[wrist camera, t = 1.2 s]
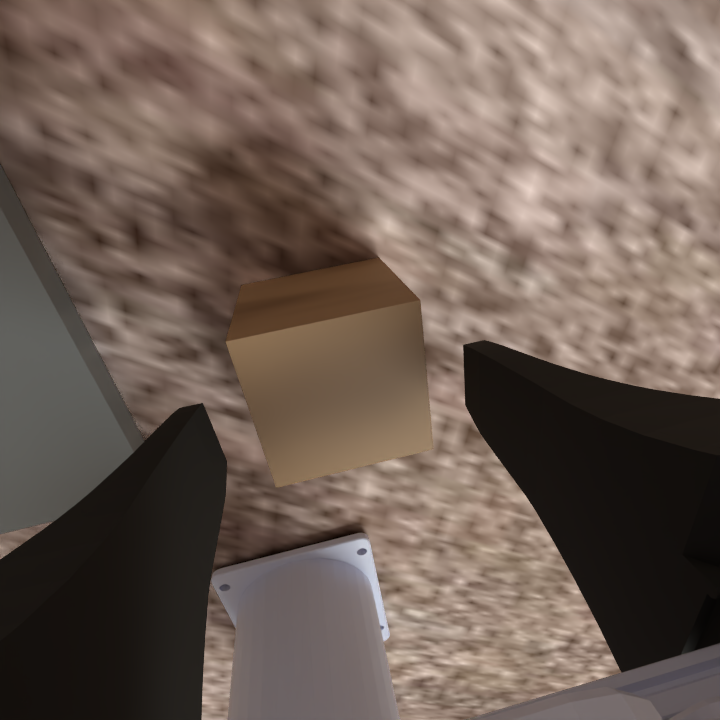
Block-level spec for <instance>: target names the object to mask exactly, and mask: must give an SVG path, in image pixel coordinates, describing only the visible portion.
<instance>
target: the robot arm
mask: <svg viewBox="0 0 720 720" xmlns="http://www.w3.org/2000/svg"><path fill="white" fill-rule="evenodd" d="M463 350H464V379H465V405H466V407H467V409H468V411H469V413H470V415H471V417H472V419H473V421H474V423H475V425H476V426H477V428H478V430H479V432H480V434H481V435H482V436H483V438H484V439H485V441H486V442H487V443H488V445H489V446H490V448H491V449H492V450H493V452H494V453H495V455H496V456H497V457H498V459H499V460H500V461H501V463H502V464H503V465H504V467H505V468H506V469H507V471H508V472H509V474H510V475H511V476H512V478H513V479H514V480H515V482H516V483H517V484H518V486H519V487H520V488H521V490H522V491H523V493H524V494H525V495H526V497H527V498H528V500H529V501H530V503H531V504H532V506H533V507H534V509H535V510H536V512H537V514H538V516H539V517H540V519H541V521H542V522H543V524H544V526H545V528H546V529H547V531H548V533H549V534H550V536H551V538H552V540H553V541H554V543H555V545H556V547H557V548H558V550H559V552H560V554H561V556H562V557H563V559H564V561H565V563H566V565H567V567H568V568H569V570H570V572H571V574H572V576H573V577H574V579H575V581H576V583H577V585H578V587H579V589H580V591H581V593H582V595H583V596H584V598H585V600H586V602H587V604H588V606H589V608H590V610H591V612H592V614H593V616H594V618H595V620H596V621H597V623H598V625H599V627H600V629H601V631H602V634H603V636H604V638H605V640H606V642H607V644H608V646H609V648H610V650H611V652H612V654H613V656H614V658H615V660H616V662H617V664H618V666H619V668H620V670H621V672H622V673H619V674H616V675H612V676H609V677H606V678H602V679H599V680H596V681H592V682H589V683H586V684H582V685H579V686H576V687H572V688H569V689H566V690H562V691H559V692H556V693H552V694H549V695H546V696H542V697H539V698H536V699H532V700H529V701H526V702H522V703H519V704H516V705H512V706H509V707H506V708H502V709H499V710H496V711H492V712H489V713H486V714H482V715H479V716H476V717H472V718H469V719H466V720H720V399H716V398H708V397H700V396H692V395H685V394H678V393H672V392H666V391H660V390H653V389H648V388H643V387H638V386H633V385H629V384H624V383H620V382H615V381H611V380H607V379H603V378H599V377H595V376H591V375H588V374H584V373H581V372H578V371H574V370H571V369H568V368H565V367H562V366H559V365H555V364H552V363H550V362H547V361H544V360H541V359H538V358H535V357H533V356H530V355H527V354H524V353H522V352H519V351H516V350H513V349H511V348H508V347H505V346H502V345H499V344H496V343H493V342H489V341H485V340H483V341H479V342H474V343H470V344H465V345H463ZM226 475H227V461H226V458H225V456H224V453H223V451H222V448H221V446H220V444H219V441H218V439H217V436H216V434H215V431H214V429H213V427H212V424H211V422H210V419H209V417H208V415H207V412H206V410H205V407H204V405H203V403H200V404H196V405H191V406H187V407H182V408H179V409H178V410H177V411H175V412H174V413H173V414H172V415H171V416H170V417H169V418H168V419H167V420H166V421H165V422H164V423H163V424H162V425H161V426H160V427H159V428H158V429H157V430H156V431H155V432H154V433H153V434H152V435H151V436H150V437H149V438H148V439H147V440H146V441H145V442H144V443H142V444H141V445H140V446H139V447H138V448H137V449H136V450H135V451H134V452H133V453H132V454H131V455H130V456H129V457H128V458H127V459H126V460H125V461H124V462H123V463H122V464H121V465H120V466H119V467H118V468H116V469H115V470H114V471H113V472H112V473H111V474H110V475H109V476H108V477H107V478H106V479H104V480H103V481H102V482H101V483H100V484H99V485H98V486H97V487H96V488H95V489H93V490H92V491H91V492H90V493H89V494H88V495H87V496H85V497H84V498H83V499H82V500H80V501H79V502H78V503H77V504H76V505H74V506H73V507H72V508H71V509H69V510H68V511H67V512H66V513H64V514H63V515H62V516H60V517H59V518H58V519H57V520H55V521H54V522H53V523H51V524H50V525H49V526H47V527H46V528H45V529H43V530H42V531H41V532H39V533H38V534H36V535H35V536H33V537H32V538H31V539H29V540H28V541H26V542H25V543H23V544H22V545H21V546H19V547H18V548H16V549H15V550H13V551H12V552H11V553H9V554H8V555H6V556H5V557H3V558H2V559H1V560H0V720H201V715H202V684H203V665H204V647H205V631H206V618H207V605H208V593H209V586H210V579H211V573H212V567H213V562H214V557H215V551H216V546H217V540H218V535H219V530H220V524H221V519H222V513H223V507H224V502H225V496H226ZM361 548H362V549H361ZM211 582H212V585H213V587H214V589H215V591H216V592H217V594H218V596H219V598H220V600H221V602H222V604H223V606H224V607H225V609H226V611H227V613H228V615H229V617H230V619H231V620H232V622H233V624H234V626H235V628H236V634H235V645H234V655H233V666H232V677H231V688H230V699H229V709H228V720H400V717H399V712H398V708H397V703H396V698H395V693H394V689H393V684H392V679H391V675H390V670H389V665H388V660H387V656H386V651H385V646H384V642H383V641H385V640H387V639H388V638H389V636H390V633H389V629H388V624H387V620H386V615H385V610H384V606H383V601H382V596H381V592H380V587H379V582H378V578H377V573H376V569H375V564H374V559H373V555H372V550H371V545H370V541H369V537H368V535H367V534H365V533H356V534H352V535H348V536H344V537H341V538H337V539H333V540H329V541H325V542H321V543H317V544H313V545H310V546H306V547H302V548H298V549H294V550H290V551H286V552H282V553H278V554H275V555H271V556H267V557H263V558H259V559H255V560H251V561H247V562H244V563H240V564H236V565H232V566H228V567H224V568H220V569H218V570H216V571H214V572H213V574H212V579H211Z"/></svg>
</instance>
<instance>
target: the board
mask: <svg viewBox="0 0 720 720" xmlns="http://www.w3.org/2000/svg"><path fill="white" fill-rule="evenodd" d="M144 442H145V441H144V439H143V437H142V435H141V433H140V432H139V430H138V428H137V426H136V424H135V422H134V420H133V418H132V416H131V414H130V412H129V410H128V409H127V407H126V405H125V403H124V401H123V399H122V397H121V395H120V393H119V391H118V389H117V387H116V385H115V384H114V382H113V380H112V378H111V376H110V374H109V372H108V370H107V368H106V366H105V364H104V362H103V361H102V359H101V357H100V355H99V353H98V351H97V349H96V347H95V345H94V343H93V341H92V339H91V337H90V336H89V334H88V332H87V330H86V328H85V326H84V324H83V322H82V320H81V318H80V316H79V314H78V313H77V311H76V309H75V307H74V305H73V303H72V301H71V299H70V297H69V295H68V293H67V291H66V289H65V288H64V286H63V284H62V282H61V280H60V278H59V276H58V274H57V272H56V270H55V268H54V266H53V265H52V263H51V261H50V259H49V257H48V255H47V253H46V251H45V249H44V247H43V245H42V243H41V241H40V240H39V238H38V236H37V234H36V232H35V230H34V228H33V226H32V224H31V222H30V220H29V218H28V217H27V215H26V213H25V211H24V209H23V207H22V205H21V203H20V201H19V199H18V197H17V195H16V193H15V192H14V190H13V188H12V186H11V184H10V182H9V180H8V178H7V176H6V174H5V172H4V170H3V169H2V167H1V165H0V534H2V533H7V532H11V531H15V530H19V529H23V528H27V527H32V526H36V525H40V524H44V523H48V522H52V521H55V520H57V519H58V518H59V517H60V516H62V515H63V514H64V513H66V512H67V511H68V510H69V509H71V508H72V507H73V506H74V505H76V504H77V503H78V502H79V501H80V500H82V499H83V498H84V497H85V496H87V495H88V494H89V493H90V492H91V491H92V490H93V489H95V488H96V487H97V486H98V485H99V484H100V483H101V482H102V481H103V480H104V479H106V478H107V477H108V476H109V475H110V474H111V473H112V472H113V471H114V470H115V469H116V468H118V467H119V466H120V465H121V464H122V463H123V462H124V461H125V460H126V459H127V458H128V457H129V456H130V455H131V454H132V453H133V452H134V451H135V450H136V449H137V448H138V447H139V446H140V445H141V444H142V443H144Z"/></svg>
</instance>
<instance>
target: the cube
mask: <svg viewBox="0 0 720 720" xmlns="http://www.w3.org/2000/svg"><path fill="white" fill-rule="evenodd" d="M226 344H227V347H228V350H229V353H230V356H231V359H232V362H233V365H234V368H235V370H236V373H237V376H238V379H239V382H240V385H241V388H242V391H243V393H244V396H245V399H246V402H247V405H248V408H249V411H250V414H251V416H252V419H253V422H254V425H255V428H256V431H257V434H258V437H259V440H260V442H261V445H262V448H263V451H264V454H265V457H266V460H267V463H268V465H269V468H270V471H271V474H272V477H273V480H274V483H275V486H276V488H278V487H282V486H286V485H290V484H294V483H298V482H302V481H306V480H310V479H315V478H319V477H323V476H327V475H331V474H335V473H339V472H343V471H347V470H351V469H355V468H359V467H363V466H367V465H371V464H375V463H379V462H383V461H387V460H391V459H395V458H400V457H404V456H408V455H412V454H416V453H420V452H424V451H428V450H432V449H433V437H432V426H431V415H430V404H429V393H428V382H427V370H426V359H425V348H424V337H423V326H422V315H421V303H420V299H419V298H418V297H417V296H416V295H415V294H414V293H413V292H412V291H411V290H410V289H409V288H408V287H407V286H406V285H405V284H404V283H403V282H402V281H401V280H400V279H399V278H398V277H397V276H396V275H395V274H394V273H393V272H392V271H391V270H390V268H389V267H388V266H387V265H386V264H385V263H384V262H383V261H382V260H381V259H380V258H374V259H369V260H364V261H359V262H354V263H349V264H344V265H339V266H334V267H329V268H324V269H319V270H314V271H309V272H304V273H299V274H294V275H289V276H284V277H279V278H274V279H270V280H265V281H260V282H255V283H250V284H245V285H241V288H240V292H239V296H238V299H237V303H236V306H235V310H234V313H233V317H232V320H231V324H230V328H229V331H228V335H227V338H226Z"/></svg>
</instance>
